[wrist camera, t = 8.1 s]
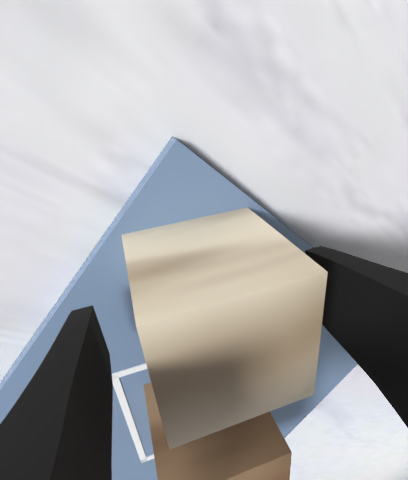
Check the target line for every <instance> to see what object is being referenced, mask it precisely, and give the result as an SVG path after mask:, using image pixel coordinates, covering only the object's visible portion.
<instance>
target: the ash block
mask: <svg viewBox="0 0 408 480" xmlns="http://www.w3.org/2000/svg"><path fill="white" fill-rule="evenodd" d="M122 241H123V248H124V254H125V260H126V266H127V273H128V279H129V285H130V291H131V298H132V304H133V310H134V317H135V323H136V328H137V332H138V335H139V339H140V343H141V346H142V350H143V354H144V358H145V361H146V365H147V369H148V372H149V376H150V380H151V383H152V387H153V391H154V394H155V398H156V402H157V406H158V409H159V413H160V417H161V420H162V424H163V428H164V431H165V435H166V439H167V443H168V446H169V450H170V449H172V448H175V447H178V446H180V445H183V444H186V443H188V442H191V441H193V440H196V439H199V438H201V437H204V436H207V435H209V434H212V433H214V432H217V431H220V430H222V429H225V428H228V427H230V426H233V425H236V424H238V423H241V422H243V421H246V420H249V419H251V418H254V417H257V416H259V415H262V414H264V413H267V412H270V411H272V410H275V409H278V408H280V407H283V406H286V405H288V404H291V403H293V402H296V401H299V400H301V399H304V398H307V397H309V396H312V395H314V390H315V382H316V373H317V364H318V355H319V346H320V337H321V328H322V319H323V310H324V301H325V293H326V284H327V275H328V272H327V271H326V270H325V269H324V268H322V267H321V266H320V265H319V264H317V263H316V262H315V261H314V260H312V259H311V258H310V257H309V256H307V255H306V254H305V253H304V252H302V251H301V250H300V249H299V248H298V247H296V246H295V245H294V244H293V243H291V242H290V241H289V240H288V239H286V238H285V237H284V236H283V235H281V234H280V233H279V232H278V231H276V230H275V229H274V228H273V227H271V226H270V225H269V224H268V223H267V222H265V221H264V220H263V219H262V218H260V217H259V216H258V215H257V214H255V213H254V212H253V211H252V210H250V209H249V208H248V207H247V208H242V209H238V210H233V211H229V212H224V213H219V214H215V215H210V216H205V217H201V218H196V219H192V220H187V221H182V222H178V223H173V224H168V225H164V226H159V227H155V228H150V229H145V230H141V231H136V232H132V233H127V234H122Z"/></svg>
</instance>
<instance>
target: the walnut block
mask: <svg viewBox="0 0 408 480" xmlns="http://www.w3.org/2000/svg"><path fill="white" fill-rule="evenodd" d="M143 386H144V393H145V399H146V406H147V412H148V419H149V425H150V432H151V438H152V445H153V451H154V458H155V465H156V471H157V478H158V480H289V478H290V465H291V450H290V449H289V447H288V445H287V443H286V441H285V439H284V437H283V435H282V433H281V432H280V430H279V428H278V426H277V424H276V422H275V420H274V418H273V416H272V415H271V413H270V412H267V413H264V414H262V415H259V416H257V417H254V418H251V419H249V420H246V421H243V422H241V423H238V424H236V425H233V426H230V427H228V428H225V429H222V430H220V431H217V432H214V433H212V434H209V435H207V436H204V437H201V438H199V439H196V440H193V441H191V442H188V443H186V444H183V445H180V446H178V447H175V448H172V449H170V450H169V446H168V443H167V439H166V435H165V431H164V428H163V424H162V420H161V417H160V413H159V409H158V406H157V402H156V398H155V394H154V391H153V387H152V383H148V384H145V385H143Z"/></svg>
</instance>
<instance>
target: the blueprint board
mask: <svg viewBox="0 0 408 480" xmlns="http://www.w3.org/2000/svg"><path fill="white" fill-rule="evenodd" d="M247 207H248V208H249V209H250V210H252V211H253V212H254V213H255V214H257V215H258V216H259V217H260V218H262V219H263V220H264V221H265V222H267V223H268V224H269V225H270V226H271V227H273V228H274V229H275V230H276V231H278V232H279V233H280V234H281V235H283V236H284V237H285V238H286V239H288V240H289V241H290V242H291V243H293V244H294V245H295V246H296V247H298V248H299V249H300V250H301V251H302V252H304V253H305V250H308V249H312V248H313V247H312V246H310V245H309V244H308V243H307V242H305V241H304V240H303V239H302V238H300V237H299V236H298V235H297V234H295V233H294V232H293V231H291V230H290V229H289V228H288V227H286V226H285V225H284V224H283V223H281V222H280V221H279V220H278V219H276V218H275V217H274V216H273V215H271V214H270V213H269V212H268V211H266V210H265V209H264V208H262V207H261V206H260V205H259V204H257V203H256V202H255V201H254V200H252V199H251V198H250V197H249V196H247V195H246V194H245V193H244V192H242V191H241V190H240V189H239V188H237V187H236V186H235V185H233V184H232V183H231V182H230V181H228V180H227V179H226V178H225V177H223V176H222V175H221V174H220V173H218V172H217V171H216V170H215V169H213V168H212V167H211V166H210V165H208V164H207V163H206V162H204V161H203V160H202V159H201V158H199V157H198V156H197V155H196V154H194V153H193V152H192V151H191V150H189V149H188V148H187V147H186V146H184V145H183V144H182V143H181V142H179V141H178V140H177V139H175V138H174V137H172V138H171V139H170V141H169V142H168V144H167V145H166V147H165V148H164V149H163V151H162V152H161V154H160V155H159V157H158V158H157V159H156V161H155V162H154V164H153V165H152V167H151V168H150V169H149V171H148V172H147V174H146V175H145V177H144V178H143V179H142V181H141V182H140V184H139V185H138V187H137V188H136V189H135V191H134V192H133V194H132V195H131V197H130V198H129V200H128V201H127V202H126V204H125V205H124V207H123V208H122V210H121V211H120V212H119V214H118V215H117V217H116V218H115V220H114V221H113V222H112V224H111V225H110V227H109V228H108V230H107V231H106V232H105V234H104V235H103V237H102V238H101V240H100V241H99V242H98V244H97V245H96V247H95V248H94V250H93V251H92V252H91V254H90V255H89V257H88V258H87V260H86V261H85V262H84V264H83V265H82V267H81V268H80V270H79V271H78V272H77V274H76V275H75V277H74V278H73V280H72V281H71V283H70V284H69V285H68V287H67V288H66V290H65V291H64V293H63V294H62V295H61V297H60V298H59V300H58V301H57V303H56V304H55V305H54V307H53V308H52V310H51V311H50V313H49V314H48V315H47V317H46V318H45V320H44V321H43V323H42V324H41V325H40V327H39V328H38V330H37V331H36V333H35V334H34V335H33V337H32V338H31V340H30V341H29V343H28V344H27V345H26V347H25V348H24V350H23V351H22V353H21V354H20V356H19V357H18V358H17V360H16V361H15V363H14V364H13V366H12V367H11V368H10V370H9V371H8V373H7V374H6V376H5V377H4V378H3V380H2V381H1V383H0V424H1V422H2V421H3V420H4V418H5V417H6V415H7V414H8V413H9V411H10V410H11V408H12V407H13V406H14V404H15V403H16V401H17V400H18V398H19V397H20V395H21V394H22V392H23V391H24V389H25V388H26V386H27V385H28V383H29V382H30V380H31V379H32V377H33V376H34V374H35V372H36V371H37V369H38V368H39V366H40V364H41V363H42V361H43V359H44V358H45V356H46V354H47V353H48V351H49V349H50V348H51V346H52V344H53V342H54V341H55V339H56V337H57V335H58V333H59V332H60V330H61V328H62V326H63V324H64V323H65V321H66V319H67V317H68V315H69V314H70V312H71V311H72V310H76V309H80V308H84V307H88V306H92V305H93V307H94V310H95V313H96V316H97V319H98V322H99V324H100V327H101V330H102V333H103V336H104V339H105V342H106V345H107V348H108V351H109V353H110V363H111V372H112V382H113V408H112V480H158V478H157V471H156V465H155V458H154V451H153V445H152V438H151V432H150V425H149V419H148V412H147V406H146V399H145V393H144V386H143V385H145V384H148V383H151V380H150V376H149V372H148V369H147V365H146V361H145V358H144V354H143V350H142V346H141V343H140V339H139V335H138V332H137V328H136V323H135V317H134V310H133V304H132V298H131V291H130V285H129V279H128V273H127V266H126V260H125V254H124V248H123V241H122V234H127V233H132V232H136V231H141V230H145V229H150V228H155V227H159V226H164V225H168V224H173V223H178V222H182V221H187V220H192V219H196V218H201V217H205V216H210V215H215V214H219V213H224V212H229V211H233V210H238V209H242V208H247ZM357 364H358V363H357V362H356V361H355V360H354V359H353V358H352V357H351V356H350V355H349V354H348V353H347V351H346V350H345V349H344V348H343V347H342V346H341V345H340V344H339V343H338V342H337V341H336V339H335V338H334V337H333V336H332V335H331V334H330V333H329V332H328V331H327V329H326V328H325V327H324V326H323V325H322V328H321V337H320V346H319V355H318V364H317V373H316V382H315V390H314V395H312V396H309V397H307V398H304V399H301V400H299V401H296V402H293V403H291V404H288V405H286V406H283V407H280V408H278V409H275V410H272V411H270V413H271V415H272V416H273V418H274V420H275V422H276V424H277V426H278V428H279V430H280V432H281V433H282V435H283V437H284V438H285V437H286V436H287V435H288V434H289V433H290V432H291V431H292V430H293V429H294V428H295V427H296V426H297V425H298V424H299V423H300V422H301V421H302V420H303V419H304V418H305V417H306V416H307V415H308V414H309V413H310V412H311V411H312V410H313V409H314V408H315V407H316V406H317V405H318V404H319V403H320V402H321V401H322V400H323V399H324V398H325V397H326V396H327V395H328V394H329V393H330V392H331V390H332V389H333V388H334V387H335V386H336V385H337V384H338V383H339V382H340V381H341V380H342V379H343V378H344V377H345V376H346V375H347V374H348V373H349V372H350V371H351V370H352V369H353V368H354V367H355V366H356V365H357Z"/></svg>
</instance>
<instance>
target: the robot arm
mask: <svg viewBox="0 0 408 480" xmlns="http://www.w3.org/2000/svg"><path fill="white" fill-rule="evenodd" d="M305 254H306V255H307V256H309V257H310V258H311V259H312V260H314V261H315V262H316V263H317V264H319V265H320V266H321V267H322V268H324V269H325V270H326V271H327V272H328V275H327V284H326V293H325V301H324V310H323V319H322V325H323V326H324V327H325V328H326V329H327V331H328V332H329V333H330V334H331V335H332V336H333V337H334V338H335V339H336V341H337V342H338V343H339V344H340V345H341V346H342V347H343V348H344V349H345V350H346V351H347V353H348V354H349V355H350V356H351V357H352V358H353V359H354V360H355V361H356V362H357V363H358V365H359V366H360V367H361V368H362V369H363V370H364V371H365V372H366V373H367V375H368V376H369V377H370V378H371V379H372V380H373V382H374V383H375V384H376V385H377V387H378V388H379V389H380V391H381V392H382V393H383V395H384V396H385V397H386V399H387V400H388V401H389V403H390V404H391V405H392V407H393V408H394V409H395V410H396V412H397V413H398V415H399V416H400V417H401V419H402V420H403V422H404V423H405V424H406V426H407V427H408V273H405V272H402V271H399V270H395V269H392V268H389V267H386V266H383V265H380V264H376V263H373V262H370V261H367V260H364V259H361V258H358V257H355V256H352V255H349V254H346V253H343V252H340V251H337V250H333V249H330V248H326V247H322V246H320V247H316V248H312V249H308V250H305ZM112 408H113V382H112V372H111V363H110V353H109V351H108V348H107V345H106V342H105V339H104V336H103V333H102V330H101V327H100V324H99V322H98V319H97V316H96V313H95V310H94V307H93V305H92V306H88V307H84V308H80V309H76V310H72V311H71V312H70V314H69V315H68V317H67V319H66V321H65V323H64V324H63V326H62V328H61V330H60V332H59V333H58V335H57V337H56V339H55V341H54V342H53V344H52V346H51V348H50V349H49V351H48V353H47V354H46V356H45V358H44V359H43V361H42V363H41V364H40V366H39V368H38V369H37V371H36V372H35V374H34V376H33V377H32V379H31V380H30V382H29V383H28V385H27V386H26V388H25V389H24V391H23V392H22V394H21V395H20V397H19V398H18V400H17V401H16V403H15V404H14V406H13V407H12V408H11V410H10V411H9V413H8V414H7V415H6V417H5V418H4V420H3V421H2V422H1V424H0V480H112Z"/></svg>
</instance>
